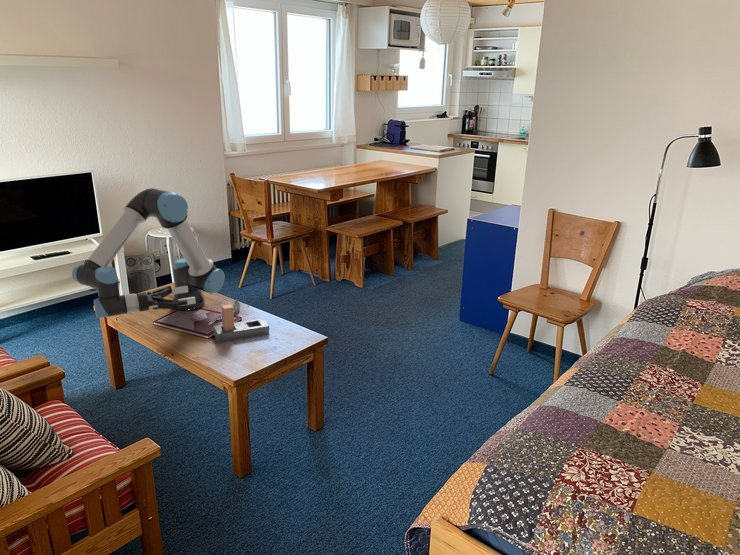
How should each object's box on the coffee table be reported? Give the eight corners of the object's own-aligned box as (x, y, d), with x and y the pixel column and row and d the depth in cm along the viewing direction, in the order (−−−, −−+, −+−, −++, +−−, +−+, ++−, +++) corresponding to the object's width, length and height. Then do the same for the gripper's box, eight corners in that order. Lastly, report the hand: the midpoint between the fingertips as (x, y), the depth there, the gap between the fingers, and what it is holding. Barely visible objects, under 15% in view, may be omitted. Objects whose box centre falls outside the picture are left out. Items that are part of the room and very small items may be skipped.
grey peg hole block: (213, 334, 244) (213, 325, 243) (262, 326, 254) (262, 318, 253) (218, 342, 237) (218, 334, 236) (269, 334, 247) (269, 326, 246)
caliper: (238, 310, 271) (237, 298, 268) (239, 311, 270) (239, 299, 268) (207, 325, 254) (206, 312, 251) (209, 325, 253) (208, 312, 251)
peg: (222, 335, 244) (221, 305, 239) (232, 333, 246) (230, 304, 241) (225, 339, 240) (223, 308, 236) (234, 337, 242) (233, 307, 238)
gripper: (133, 300, 238) (185, 292, 247) (143, 323, 217) (199, 313, 227) (131, 283, 235) (184, 276, 245) (140, 305, 215) (197, 296, 224)
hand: (191, 294), depth 236 cm, fingers open, 13 cm apart
